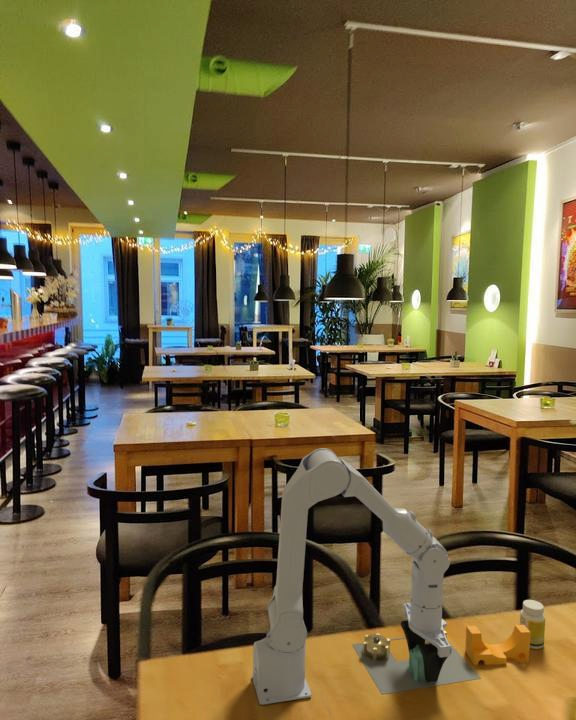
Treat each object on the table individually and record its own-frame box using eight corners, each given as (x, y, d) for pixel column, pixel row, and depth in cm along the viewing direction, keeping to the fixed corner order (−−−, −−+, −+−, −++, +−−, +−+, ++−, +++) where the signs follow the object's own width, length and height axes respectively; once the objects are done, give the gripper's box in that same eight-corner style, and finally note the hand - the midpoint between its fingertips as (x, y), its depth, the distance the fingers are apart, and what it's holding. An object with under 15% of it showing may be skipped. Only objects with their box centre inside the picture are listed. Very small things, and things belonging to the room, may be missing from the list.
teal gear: (418, 685, 98) (419, 663, 97) (404, 666, 103) (405, 645, 103) (442, 681, 99) (443, 659, 99) (428, 662, 104) (429, 642, 104)
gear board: (381, 699, 95) (382, 678, 95) (351, 648, 110) (352, 630, 109) (481, 683, 100) (482, 662, 100) (439, 636, 115) (440, 618, 114)
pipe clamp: (473, 670, 104) (475, 638, 103) (464, 656, 108) (466, 625, 108) (533, 668, 105) (535, 637, 104) (522, 655, 109) (524, 624, 109)
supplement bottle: (548, 644, 112) (550, 606, 112) (535, 652, 110) (538, 613, 109) (527, 633, 116) (529, 596, 116) (514, 640, 114) (516, 602, 113)
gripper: (467, 619, 94) (463, 693, 95) (426, 580, 108) (424, 644, 109) (431, 624, 92) (427, 699, 93) (394, 583, 106) (392, 648, 107)
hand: (423, 670), depth 101 cm, fingers closed on teal gear, 5 cm apart
